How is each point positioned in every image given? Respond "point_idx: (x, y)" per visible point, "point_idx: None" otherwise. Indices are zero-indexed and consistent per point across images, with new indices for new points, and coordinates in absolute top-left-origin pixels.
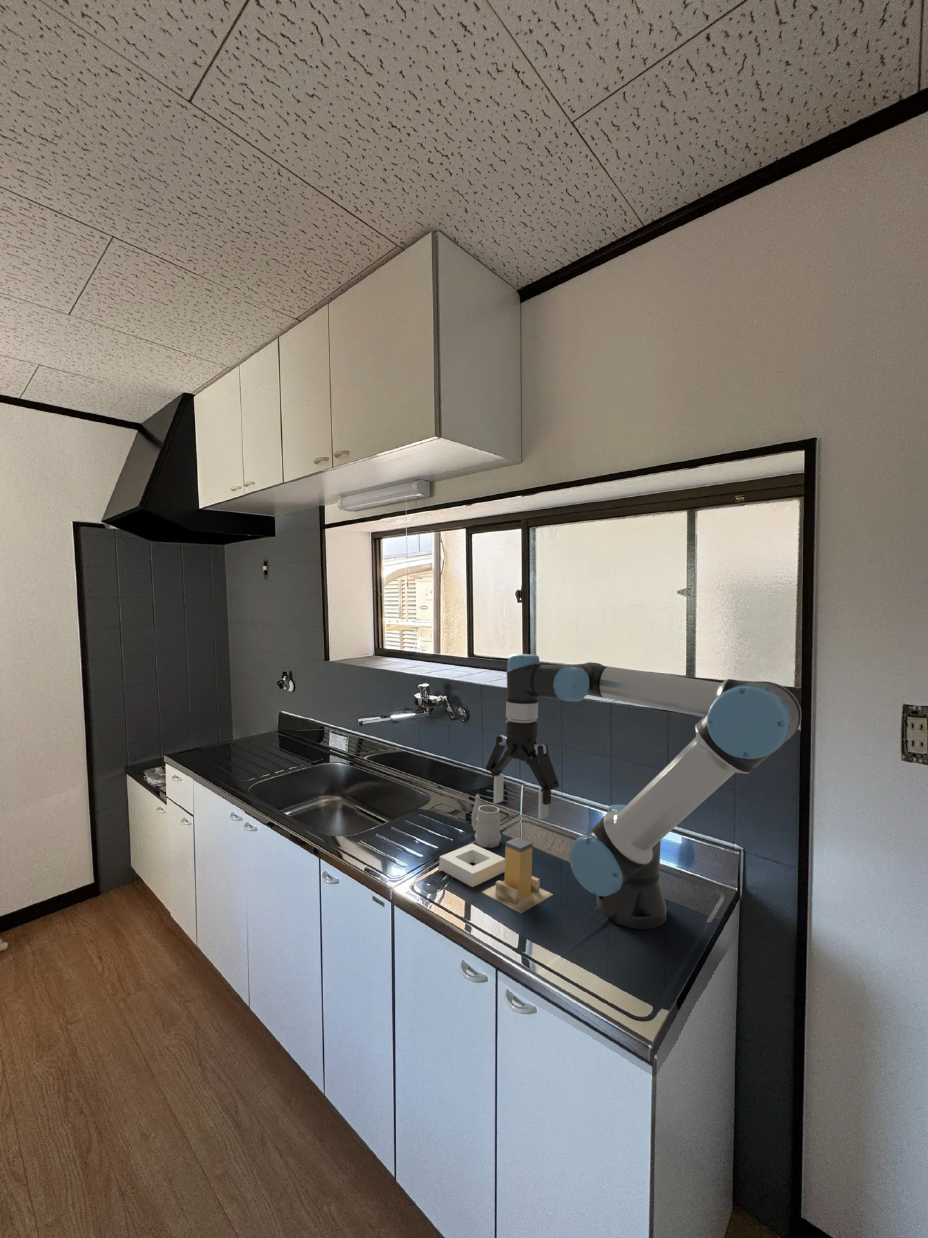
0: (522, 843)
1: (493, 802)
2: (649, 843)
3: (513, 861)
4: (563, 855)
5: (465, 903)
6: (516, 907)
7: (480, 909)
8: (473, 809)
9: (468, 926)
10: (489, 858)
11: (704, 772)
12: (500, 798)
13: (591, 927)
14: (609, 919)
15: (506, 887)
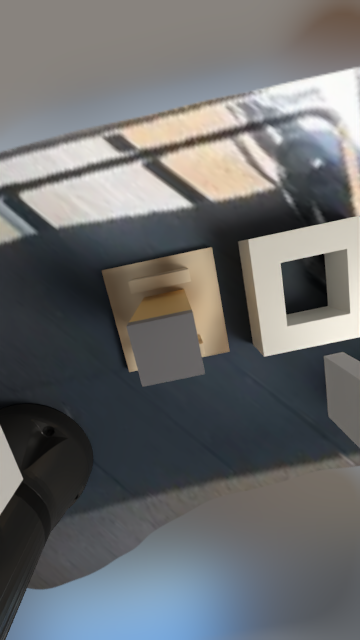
0: (155, 356)
1: (343, 352)
2: None
3: (157, 309)
4: (248, 487)
5: (202, 195)
6: (123, 275)
7: (166, 212)
8: None
9: (124, 147)
10: (290, 325)
11: None
12: (340, 407)
13: (19, 363)
14: (21, 404)
15: (155, 276)
